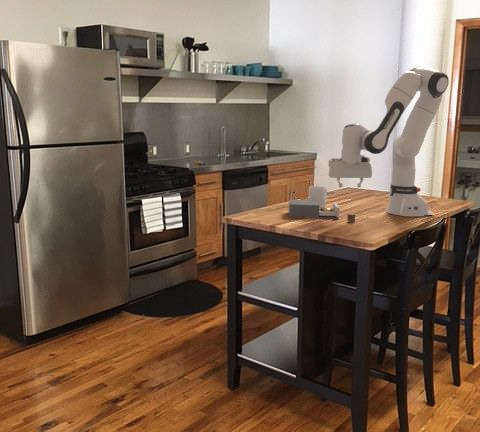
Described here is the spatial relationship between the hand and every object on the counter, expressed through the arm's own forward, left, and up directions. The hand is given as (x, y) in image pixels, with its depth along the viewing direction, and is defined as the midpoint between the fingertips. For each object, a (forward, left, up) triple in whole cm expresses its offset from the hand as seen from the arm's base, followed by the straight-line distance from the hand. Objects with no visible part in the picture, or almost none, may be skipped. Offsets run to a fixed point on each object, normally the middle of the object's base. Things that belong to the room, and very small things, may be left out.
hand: (349, 187), depth 259 cm
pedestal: (0, +11, -15) cm, 18 cm away
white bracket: (+12, 0, -13) cm, 18 cm away
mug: (+13, -20, -15) cm, 28 cm away
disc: (+10, 0, -13) cm, 16 cm away
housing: (+17, 0, -14) cm, 22 cm away
